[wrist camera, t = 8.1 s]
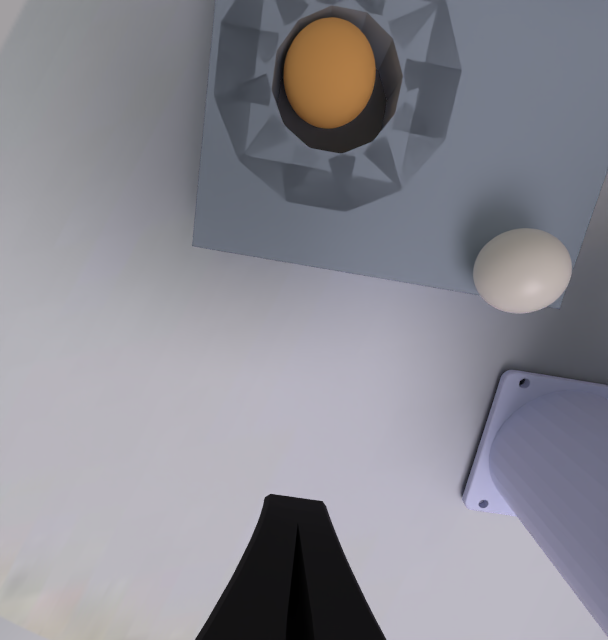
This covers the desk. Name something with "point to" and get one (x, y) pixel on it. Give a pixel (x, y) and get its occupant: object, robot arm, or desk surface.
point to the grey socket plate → (410, 137)
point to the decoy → (522, 270)
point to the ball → (329, 73)
